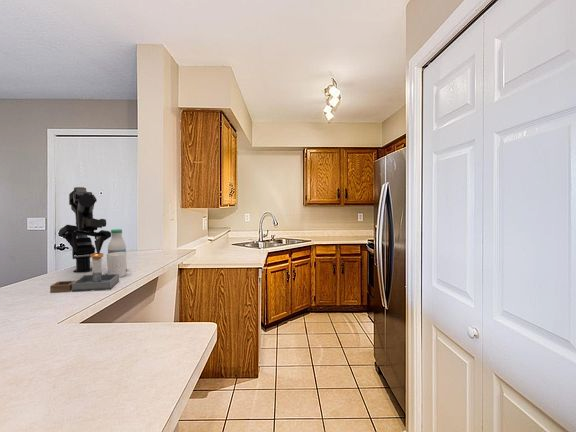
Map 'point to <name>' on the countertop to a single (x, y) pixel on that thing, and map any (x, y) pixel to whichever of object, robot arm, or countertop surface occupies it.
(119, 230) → the milk bottle
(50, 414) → the countertop surface
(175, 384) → the countertop surface
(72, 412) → the countertop surface
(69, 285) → the socket block
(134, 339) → the countertop surface
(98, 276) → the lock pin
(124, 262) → the white cup
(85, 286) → the tray
